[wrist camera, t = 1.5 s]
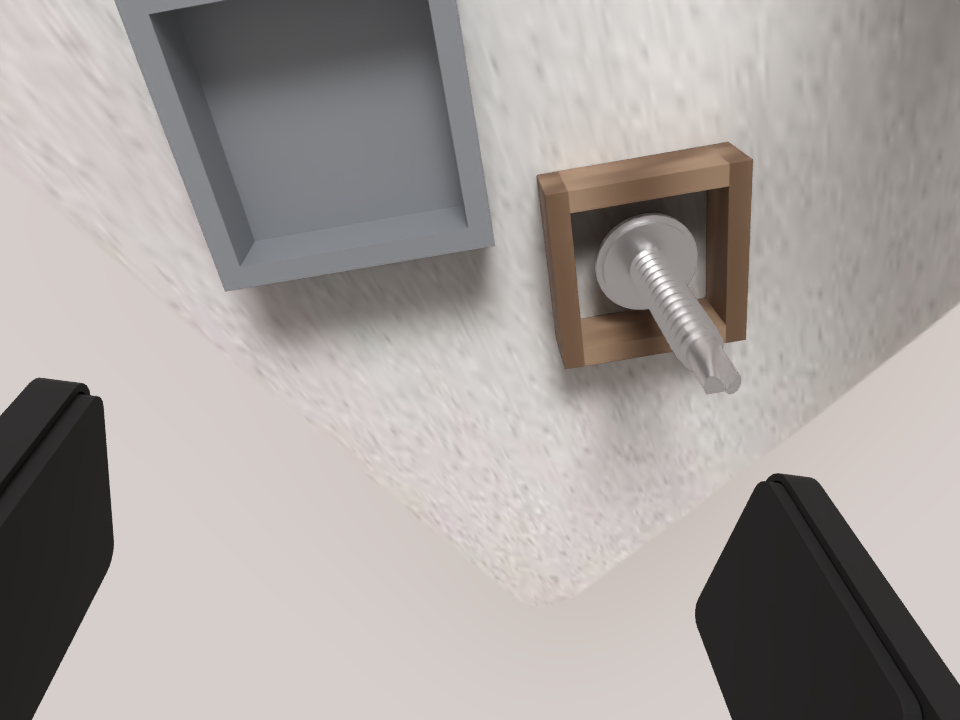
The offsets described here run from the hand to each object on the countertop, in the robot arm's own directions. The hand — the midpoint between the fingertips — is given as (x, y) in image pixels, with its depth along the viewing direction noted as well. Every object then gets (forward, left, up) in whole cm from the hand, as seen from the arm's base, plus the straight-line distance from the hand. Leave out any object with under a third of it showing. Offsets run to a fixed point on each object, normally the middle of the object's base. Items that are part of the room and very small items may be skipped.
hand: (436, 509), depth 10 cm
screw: (-9, +8, -26) cm, 28 cm away
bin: (+4, -1, -25) cm, 26 cm away
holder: (-9, +8, -25) cm, 28 cm away
